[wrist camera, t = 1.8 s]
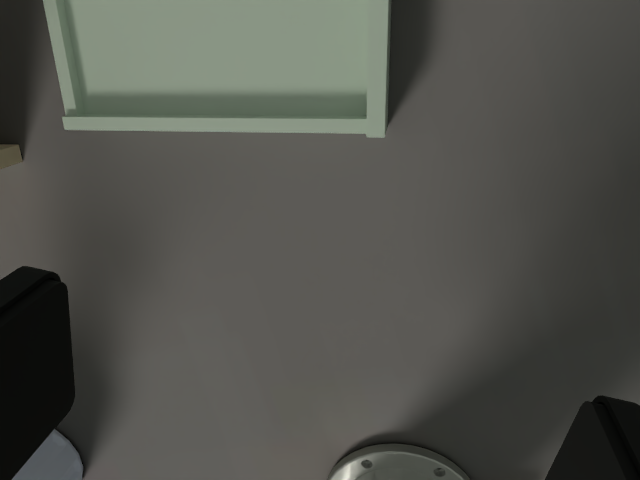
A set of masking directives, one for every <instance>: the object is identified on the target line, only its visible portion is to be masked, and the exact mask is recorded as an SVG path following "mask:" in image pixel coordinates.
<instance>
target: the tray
mask: <svg viewBox="0 0 640 480" xmlns="http://www.w3.org/2000/svg"><path fill="white" fill-rule="evenodd" d="M43 3H44V8H45V13H46V18H47V23H48V28H49V34H50V39H51V44H52V49H53V54H54V59H55V64H56V69H57V74H58V79H59V84H60V89H61V94H62V99H63V104H64V109H65V114H66V116H64V117H62V119H63V124H64V129H65V130H115V131H197V132H279V133H361V134H366V137H384V138H385V134H386V130H387V127H388V95H389V62H390V29H391V0H43Z"/></svg>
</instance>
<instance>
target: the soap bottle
mask: <svg viewBox="0 0 640 480" xmlns="http://www.w3.org/2000/svg"><path fill="white" fill-rule="evenodd" d="M82 474H83V465H82V462H81V459H80V456H79V453H78V452H77V451H76V449H75V448H74V447H73V445H72V444H71V442H70V441H69V440H68V439H66V438H65V437H64V436H63V435H62V434H60V433H59V432H58V431H57V430H55V429H54V430H53V431H52V432H51V434H50V435H49V436H48V437H47V438H46V440H45V441H44V442H43V443H42V444H41V445H40V447H39V448H38V449H37V450H36V451H35V453H34V454H33V455H32V456H31V457H30V458H29V460H28V461H27V462H26V463H25V464H24V466H23V467H22V468H21V469H20V470H19V471H18V473H17V474H16V475H15V476H14V477H13V479H12V480H82Z"/></svg>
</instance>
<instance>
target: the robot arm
mask: <svg viewBox="0 0 640 480" xmlns="http://www.w3.org/2000/svg"><path fill="white" fill-rule="evenodd" d="M74 398H75V386H74V372H73V358H72V344H71V331H70V317H69V303H68V290H67V286H66V285H65V284H64V283H63V282H61V280H60V277H59V276H58V274H56V273H54V272H50V271H46V270H42V269H37V268H33V267H28V266H22V267H20V268H18V269H16V270H15V271H13V272H12V273H10V274H9V275H7V276H6V277H4V278H3V279H1V280H0V480H12V479H13V477H14V476H15V475H16V474H17V473H18V471H19V470H20V469H21V468H22V467H23V466H24V464H25V463H26V462H27V461H28V460H29V458H30V457H31V456H32V455H33V454H34V453H35V451H36V450H37V449H38V448H39V447H40V445H41V444H42V443H43V442H44V441H45V440H46V438H47V437H48V436H49V435H50V434H51V432H52V431H53V430H54V429H55V428H56V427H57V425H58V424H59V423H60V422H61V421H62V419H63V418H64V417H65V416H66V415H67V413H68V412H69V411H70V409H71V407H72V404H73V402H74ZM327 480H470V479H469V477H468V476H467V475H466V473H465V472H464V471H462V470H461V469H460V468H459V467H458V466H457V465H456V464H455V463H453V462H451V461H450V460H448V459H447V458H445V457H443V456H442V455H440V454H437V453H435V452H432V451H430V450H428V449H424V448H420V447H417V446H413V445H405V444H379V445H374V446H369V447H365V448H362V449H360V450H357V451H355V452H353V453H351V454H349V455H348V456H346V457H345V458H343V459H342V460H341V461H340V462H339V463H338V464H337V465H336V466H335V467H334V468H333V469H332V471H331V473H330V474H329V476H328V479H327ZM545 480H640V406H639V405H638V404H636V403H633V402H629V401H624V400H620V399H615V398H611V397H606V396H597V397H596V398H595V399H594V400H593V402H589V401H587V402H584V403H583V404H582V406H581V407H580V409H579V411H578V413H577V415H576V417H575V419H574V421H573V423H572V425H571V427H570V429H569V432H568V434H567V436H566V438H565V440H564V442H563V444H562V446H561V448H560V450H559V452H558V454H557V456H556V458H555V460H554V462H553V464H552V466H551V468H550V470H549V472H548V474H547V476H546V478H545Z"/></svg>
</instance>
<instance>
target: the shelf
mask: <svg viewBox="0 0 640 480" xmlns="http://www.w3.org/2000/svg"><path fill="white" fill-rule="evenodd" d="M20 162H23V160H22V156H21V152H20V148H19V145H13V144H0V169H2V168H5V167H8V166H11V165H14V164H17V163H20Z"/></svg>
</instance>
